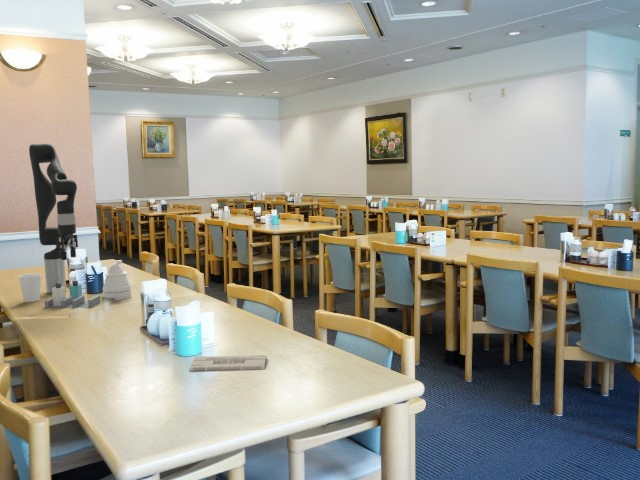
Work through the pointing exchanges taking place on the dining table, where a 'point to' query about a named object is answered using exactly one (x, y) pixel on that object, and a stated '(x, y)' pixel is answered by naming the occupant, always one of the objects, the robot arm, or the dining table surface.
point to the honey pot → (116, 283)
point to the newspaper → (228, 363)
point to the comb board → (74, 302)
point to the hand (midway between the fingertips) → (68, 258)
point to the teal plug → (75, 289)
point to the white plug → (58, 294)
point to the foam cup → (30, 286)
